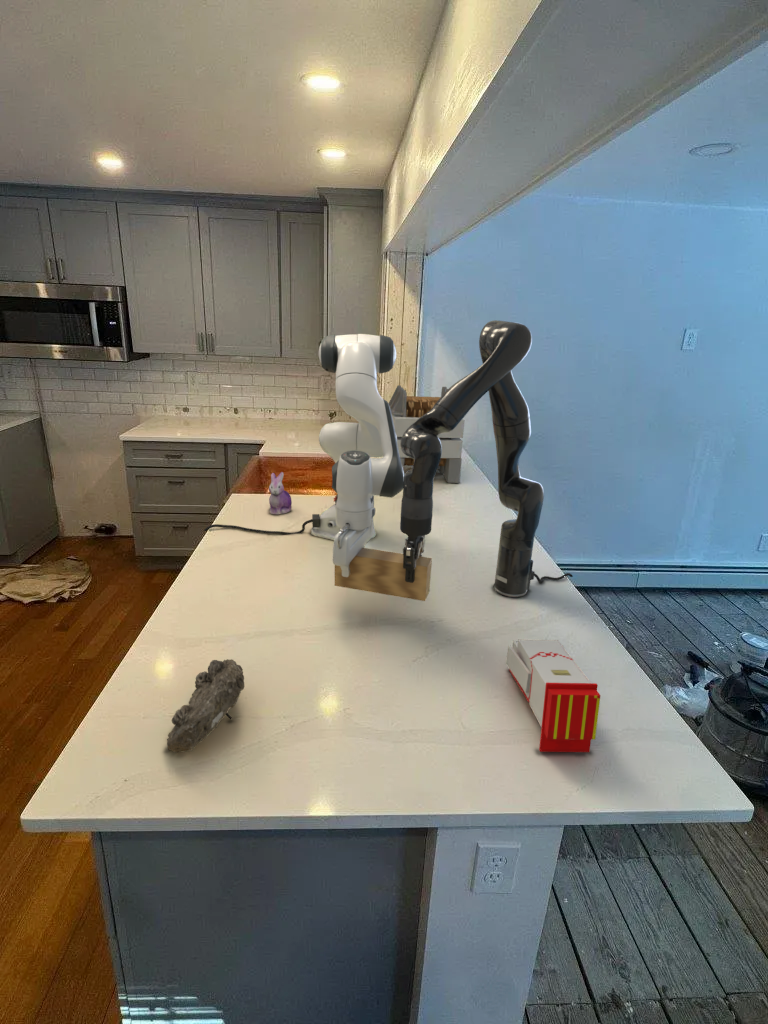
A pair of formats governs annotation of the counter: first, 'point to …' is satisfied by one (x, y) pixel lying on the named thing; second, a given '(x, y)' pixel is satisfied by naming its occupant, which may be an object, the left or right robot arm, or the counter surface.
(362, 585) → the bar
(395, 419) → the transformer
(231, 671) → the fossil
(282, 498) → the figurine
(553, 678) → the toy
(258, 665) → the counter surface
